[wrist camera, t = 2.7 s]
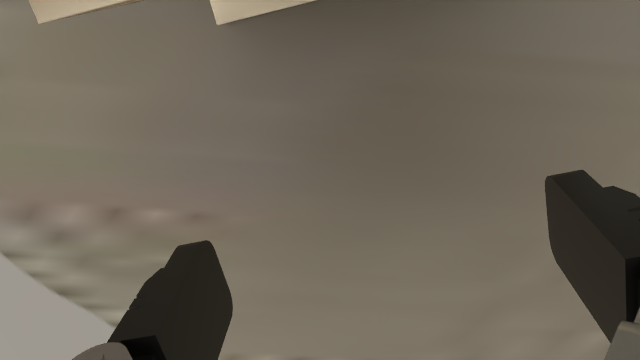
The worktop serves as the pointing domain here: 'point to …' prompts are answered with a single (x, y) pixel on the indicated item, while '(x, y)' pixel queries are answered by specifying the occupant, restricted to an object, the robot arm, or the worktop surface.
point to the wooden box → (227, 3)
